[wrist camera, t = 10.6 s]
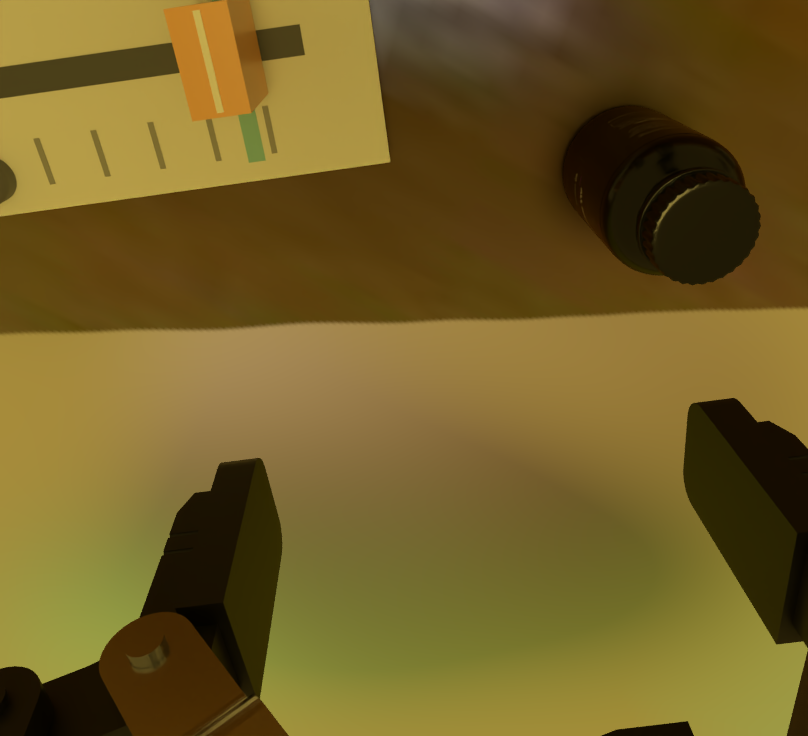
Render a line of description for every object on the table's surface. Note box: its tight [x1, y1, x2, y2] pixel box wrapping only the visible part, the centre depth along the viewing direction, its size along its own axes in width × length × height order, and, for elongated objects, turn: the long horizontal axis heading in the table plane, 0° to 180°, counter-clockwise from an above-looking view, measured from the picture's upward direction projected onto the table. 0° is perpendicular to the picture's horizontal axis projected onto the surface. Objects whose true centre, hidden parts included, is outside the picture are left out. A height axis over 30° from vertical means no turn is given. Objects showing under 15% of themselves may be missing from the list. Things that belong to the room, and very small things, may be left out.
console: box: [0, 0, 390, 216], centre depth 36 cm, size 13×24×4 cm, turn 97°
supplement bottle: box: [563, 106, 761, 285], centre depth 36 cm, size 7×7×12 cm
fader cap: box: [163, 0, 268, 121], centre depth 33 cm, size 4×3×6 cm, turn 7°
